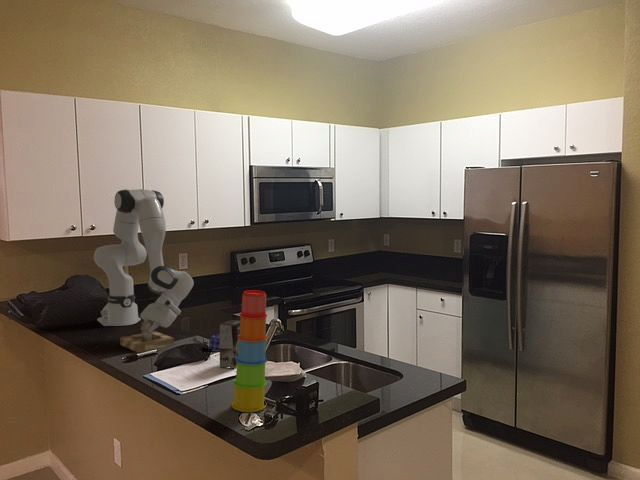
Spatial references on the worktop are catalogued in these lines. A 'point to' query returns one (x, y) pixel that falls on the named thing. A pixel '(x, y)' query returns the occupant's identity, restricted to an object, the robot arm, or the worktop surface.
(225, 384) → the worktop surface
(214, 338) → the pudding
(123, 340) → the collar
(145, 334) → the peg
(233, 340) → the coffee box
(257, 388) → the stacking cups
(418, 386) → the worktop surface
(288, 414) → the worktop surface
